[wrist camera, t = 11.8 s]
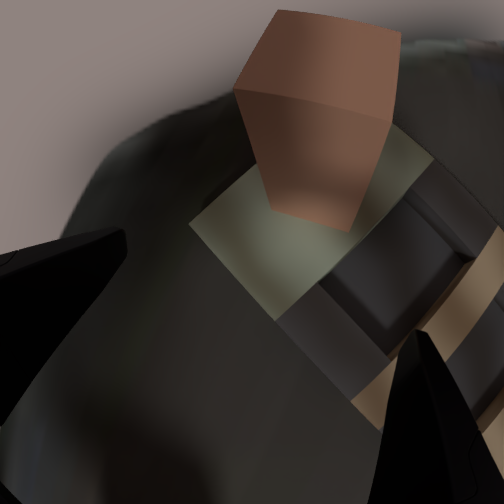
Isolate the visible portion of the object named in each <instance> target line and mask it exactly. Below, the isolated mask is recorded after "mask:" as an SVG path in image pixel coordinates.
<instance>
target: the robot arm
mask: <svg viewBox="0 0 504 504" xmlns="http://www.w3.org/2000/svg"><path fill="white" fill-rule="evenodd" d="M127 252H128V250H127V240H126V233H125V231H124V230H123V229H121V228H118V227H115V226H113V227H108V228H104V229H99V230H95V231H91V232H87V233H82V234H78V235H74V236H70V237H66V238H62V239H58V240H54V241H51V242H47V243H43V244H39V245H35V246H31V247H27V248H24V249H20V250H19V251H18V250H16V251H12V252H9V253H5V254H2V255H0V426H2V425H3V424H4V423H5V421H6V419H7V418H8V416H9V415H10V413H11V412H12V410H13V409H14V407H15V406H16V404H17V403H18V401H19V400H20V398H21V397H22V395H23V394H24V393H25V391H26V390H27V388H28V387H29V385H30V384H31V381H33V379H34V378H35V377H36V375H37V374H38V372H39V371H40V370H41V368H42V367H43V366H44V364H45V363H46V362H47V360H48V359H49V357H50V356H51V355H52V353H53V352H54V351H55V350H56V348H57V347H58V346H59V344H60V343H61V342H62V340H63V339H64V338H65V337H66V335H67V334H68V333H69V331H70V330H71V329H72V328H73V326H74V325H75V324H76V323H77V321H78V320H79V319H80V318H81V316H82V315H83V314H84V313H85V312H86V310H87V309H88V308H89V307H90V305H91V304H92V303H93V302H94V301H95V299H96V298H97V297H98V296H99V295H100V293H101V292H102V291H103V289H104V288H105V287H106V285H107V284H108V282H109V281H110V279H111V278H112V277H113V275H114V274H115V272H116V271H117V270H118V268H119V267H120V265H121V264H122V263H123V261H124V260H125V258H126V256H127ZM478 429H479V427H478V425H477V423H476V421H475V419H474V417H473V415H472V413H471V411H470V408H469V407H468V405H467V403H466V401H465V399H464V397H463V395H462V393H461V391H460V389H459V387H458V385H457V383H456V381H455V380H454V378H453V376H452V374H451V372H450V371H449V369H448V367H447V365H446V363H445V362H444V360H443V358H442V356H441V355H440V353H439V351H438V349H437V348H436V346H435V344H434V343H433V341H432V339H431V338H430V336H429V334H428V333H427V332H425V331H422V330H419V329H413V330H412V331H411V333H410V334H409V336H408V337H407V339H406V341H405V342H404V344H403V345H402V347H401V348H400V350H399V353H398V357H397V362H396V367H395V371H394V376H393V380H392V385H391V389H390V393H389V398H388V402H387V408H386V415H385V421H384V428H383V434H382V439H381V445H380V450H379V456H378V460H377V465H376V470H375V474H374V479H373V483H372V487H371V491H370V495H369V499H368V503H367V504H504V479H503V477H502V475H501V473H500V471H499V469H498V467H497V465H496V463H495V461H494V459H493V457H492V455H491V453H490V450H489V448H488V446H487V444H486V442H485V440H484V438H483V435H482V433H481V431H480V430H478ZM0 504H22V503H21V502H20V501H19V500H18V499H17V498H16V497H15V496H14V495H13V494H12V493H11V492H10V491H9V490H8V489H7V488H6V487H5V486H4V485H3V484H2V483H1V481H0Z"/></svg>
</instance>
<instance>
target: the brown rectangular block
mask: <svg viewBox="0 0 504 504" xmlns="http://www.w3.org/2000/svg"><path fill="white" fill-rule="evenodd" d="M400 44H401V33H400V32H397V31H393V30H390V29H386V28H382V27H379V26H375V25H371V24H367V23H362V22H357V21H353V20H348V19H343V18H337V17H332V16H326V15H320V14H313V13H306V12H297V11H288V10H277V12H276V13H275V15H274V17H273V18H272V20H271V22H270V23H269V25H268V27H267V28H266V30H265V32H264V33H263V35H262V37H261V38H260V40H259V42H258V44H257V45H256V47H255V49H254V50H253V52H252V54H251V56H250V57H249V59H248V61H247V63H246V65H245V67H244V68H243V70H242V72H241V74H240V75H239V77H238V79H237V81H236V83H235V85H234V87H233V91H234V94H235V97H236V100H237V103H238V106H239V109H240V112H241V115H242V118H243V121H244V124H245V127H246V130H247V133H248V137H249V140H250V143H251V146H252V149H253V152H254V155H255V158H256V162H257V165H258V168H259V171H260V174H261V178H262V181H263V184H264V187H265V191H266V194H267V197H268V200H269V204H270V207H271V210H273V211H277V212H281V213H284V214H288V215H291V216H294V217H298V218H301V219H305V220H308V221H312V222H315V223H318V224H322V225H325V226H328V227H332V228H335V229H338V230H342V231H345V232H348V233H349V231H350V229H351V227H352V224H353V222H354V219H355V217H356V215H357V212H358V210H359V208H360V205H361V203H362V200H363V198H364V195H365V193H366V190H367V188H368V185H369V183H370V180H371V178H372V175H373V173H374V170H375V167H376V165H377V162H378V160H379V157H380V154H381V152H382V149H383V146H384V143H385V141H386V138H387V135H388V132H389V129H390V127H391V124H392V118H393V111H394V104H395V96H396V87H397V78H398V68H399V57H400Z"/></svg>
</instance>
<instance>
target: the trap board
mask: <svg viewBox="0 0 504 504" xmlns="http://www.w3.org/2000/svg"><path fill="white" fill-rule="evenodd" d="M189 225H190V226H191V227H192V229H193V230H194V231H195V232H196V233H197V234H198V236H199V237H200V238H201V239H202V240H203V241H204V242H205V244H206V245H207V246H208V247H209V248H210V249H211V250H212V252H213V253H214V254H215V255H216V256H217V257H218V258H219V259H220V261H221V262H222V263H223V264H224V265H225V266H226V267H227V268H228V270H229V271H230V272H231V273H232V274H233V275H234V276H235V277H236V279H237V280H238V281H239V282H240V283H241V284H242V285H243V286H244V288H245V289H246V290H247V291H248V292H249V293H250V294H251V295H252V296H253V298H254V299H255V300H256V301H257V302H258V303H259V304H260V305H261V306H262V307H263V309H264V310H265V311H266V312H267V313H268V314H269V315H270V316H271V317H272V318H273V320H274V321H275V322H276V323H277V324H278V325H279V326H280V327H281V328H282V329H283V330H284V331H285V333H286V334H287V335H288V336H289V337H290V338H291V339H292V340H293V341H294V342H295V343H296V344H297V346H298V347H299V348H300V349H301V350H302V351H303V352H304V353H305V354H306V355H307V356H308V357H309V358H310V359H311V361H312V362H313V363H314V364H315V365H316V366H317V367H318V368H319V369H320V370H321V371H322V372H323V373H324V374H325V375H326V376H327V377H328V379H329V380H330V381H331V382H332V383H333V384H334V385H335V386H336V387H337V388H338V389H339V390H340V391H341V392H342V393H343V394H344V395H345V396H346V397H347V398H348V399H349V400H350V401H351V403H352V404H353V405H354V406H355V407H356V408H357V409H358V410H359V411H360V412H361V413H362V414H363V415H364V416H365V417H366V418H367V419H368V420H369V421H370V422H371V423H372V424H373V425H374V426H375V427H376V428H377V429H378V430H379V431H380V432H381V433H382V434H383V428H384V421H385V415H386V408H387V402H388V398H389V393H390V389H391V385H392V380H393V376H394V371H395V367H396V362H397V357H398V353H399V350H400V348H401V347H402V345H403V344H404V342H405V341H406V339H407V337H408V336H409V334H410V333H411V331H412V330H413V329H419V330H422V331H425V332H427V333H428V334H429V336H430V338H431V339H432V341H433V343H434V344H435V346H436V348H437V349H438V351H439V353H440V355H441V356H442V358H443V360H444V362H445V363H446V365H447V367H448V369H449V371H450V372H451V374H452V376H453V378H454V380H455V381H456V383H457V385H458V387H459V389H460V391H461V393H462V395H463V397H464V399H465V401H466V403H467V405H468V407H469V408H470V411H471V413H472V415H473V417H474V419H475V421H476V423H477V425H478V427H479V429H478V430H480V431H481V433H482V435H483V438H484V440H485V442H486V444H487V446H488V448H489V450H490V453H491V455H492V457H493V459H494V461H495V463H496V465H497V467H498V469H499V471H500V473H501V475H502V477H503V479H504V232H503V231H502V229H501V228H500V227H499V226H498V224H497V223H496V222H495V221H494V220H493V219H492V217H491V216H490V215H489V214H488V213H487V212H486V211H485V209H484V208H483V207H482V206H481V205H480V204H479V203H478V202H477V201H476V200H475V199H474V197H473V196H472V195H471V194H470V193H469V192H468V191H467V190H466V189H465V188H464V187H463V186H462V185H461V184H460V183H459V182H458V181H457V180H456V179H455V178H454V177H453V176H452V175H451V174H450V173H449V172H448V171H447V170H446V169H445V168H444V167H443V166H442V165H441V164H440V163H438V162H437V161H436V160H435V159H434V158H433V157H432V156H431V155H430V154H429V153H427V152H426V151H425V150H424V149H423V148H422V147H421V146H420V145H418V144H417V143H416V142H415V141H414V140H413V139H411V138H410V137H409V136H408V135H407V134H405V133H404V132H403V131H402V130H401V129H399V128H398V127H397V126H396V125H394V124H393V123H392V124H391V127H390V129H389V132H388V135H387V138H386V141H385V143H384V146H383V149H382V152H381V154H380V157H379V160H378V162H377V165H376V167H375V170H374V173H373V175H372V178H371V180H370V183H369V185H368V188H367V190H366V193H365V195H364V198H363V200H362V203H361V205H360V208H359V210H358V212H357V215H356V217H355V219H354V222H353V224H352V227H351V229H350V231H349V233H348V232H345V231H342V230H338V229H335V228H332V227H328V226H325V225H322V224H318V223H315V222H312V221H308V220H305V219H301V218H298V217H294V216H291V215H288V214H284V213H281V212H277V211H273V210H271V207H270V204H269V200H268V197H267V194H266V191H265V187H264V184H263V181H262V178H261V174H260V171H259V168H258V165H257V163H256V164H255V165H254V166H253V167H252V168H251V169H249V170H248V171H247V172H246V173H245V174H244V175H242V176H241V177H240V178H239V179H238V180H237V181H236V182H234V183H233V184H232V185H231V186H230V187H229V188H228V189H226V190H225V191H224V192H223V193H222V194H221V195H220V196H219V197H217V198H216V199H215V200H214V201H213V202H212V203H211V204H210V205H209V206H208V207H206V208H205V209H204V210H203V211H202V212H201V213H200V214H199V215H198V216H197V217H195V218H194V219H193V220H192V221H191V222H190V223H189Z"/></svg>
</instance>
